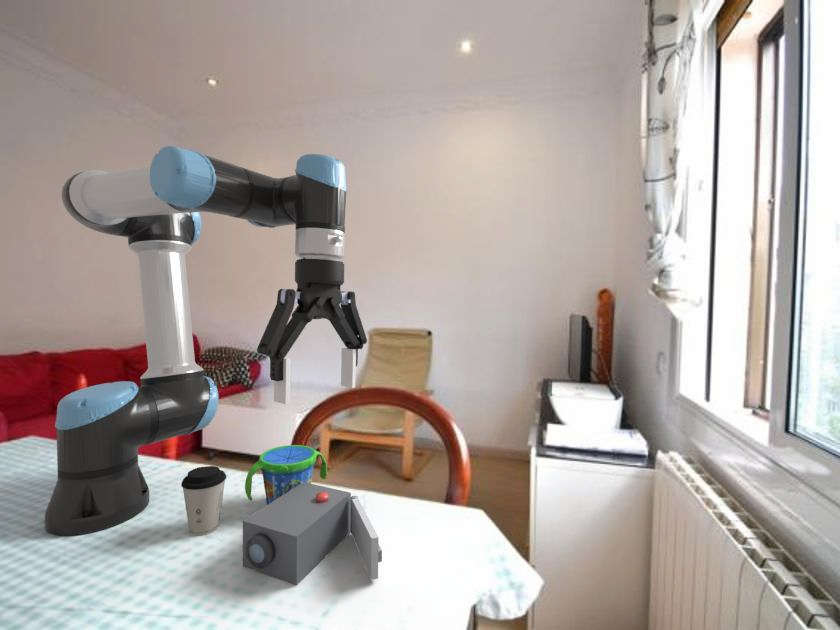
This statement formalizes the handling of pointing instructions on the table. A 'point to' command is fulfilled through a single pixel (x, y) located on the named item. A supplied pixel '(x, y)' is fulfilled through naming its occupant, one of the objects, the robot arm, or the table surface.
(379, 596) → the table surface
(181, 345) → the robot arm
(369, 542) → the door
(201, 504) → the coffee cup
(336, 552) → the table surface
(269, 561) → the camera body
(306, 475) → the snack cup
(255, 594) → the table surface
